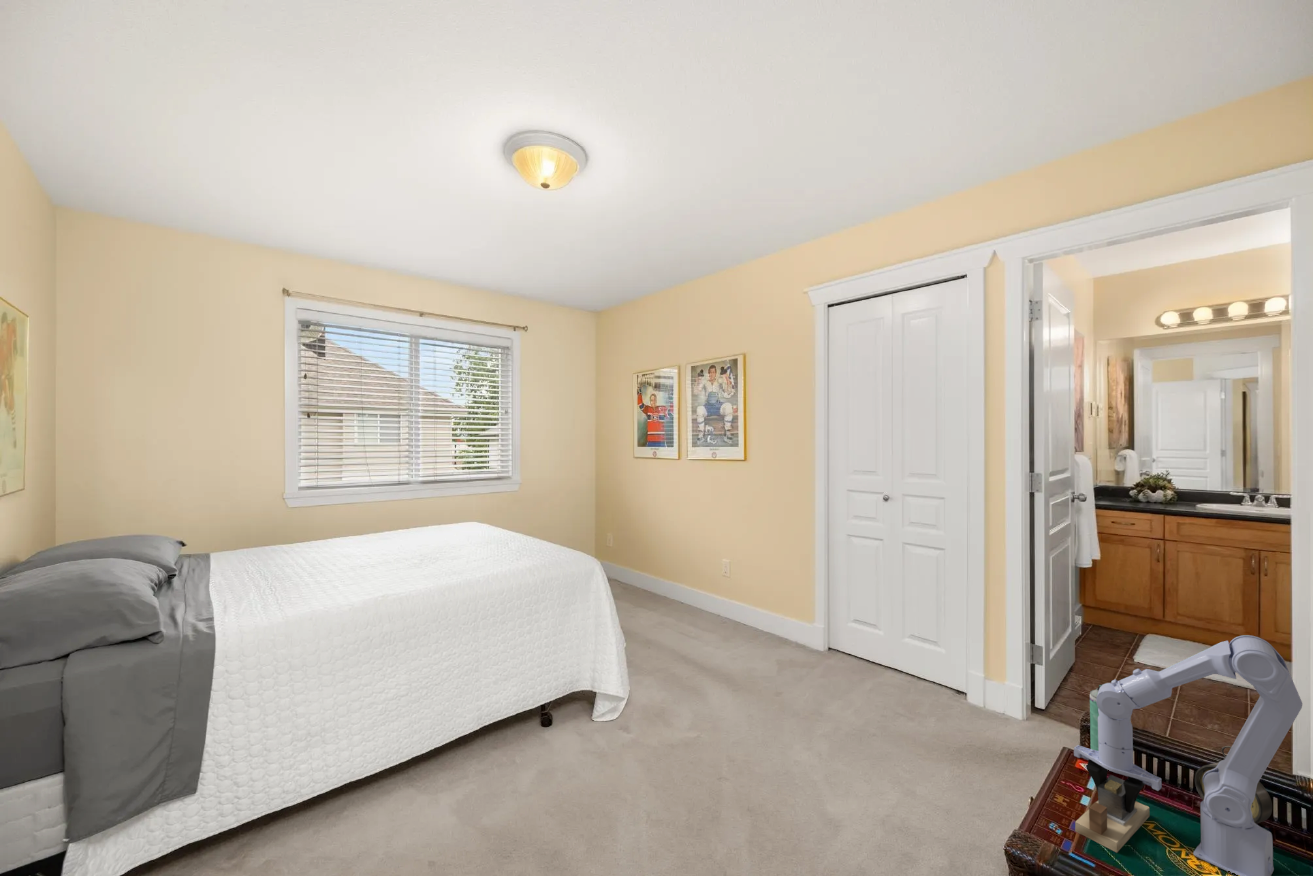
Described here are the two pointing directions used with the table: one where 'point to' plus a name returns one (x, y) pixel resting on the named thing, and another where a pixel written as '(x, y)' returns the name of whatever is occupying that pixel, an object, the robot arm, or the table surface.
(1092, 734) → the spray can
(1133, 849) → the table surface
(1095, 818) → the hand plane
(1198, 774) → the alarm clock
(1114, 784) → the lever cap
